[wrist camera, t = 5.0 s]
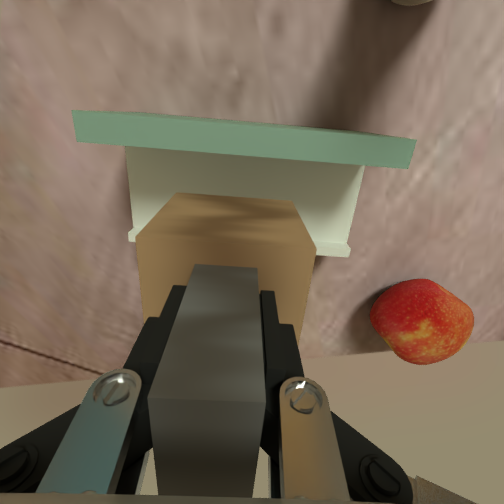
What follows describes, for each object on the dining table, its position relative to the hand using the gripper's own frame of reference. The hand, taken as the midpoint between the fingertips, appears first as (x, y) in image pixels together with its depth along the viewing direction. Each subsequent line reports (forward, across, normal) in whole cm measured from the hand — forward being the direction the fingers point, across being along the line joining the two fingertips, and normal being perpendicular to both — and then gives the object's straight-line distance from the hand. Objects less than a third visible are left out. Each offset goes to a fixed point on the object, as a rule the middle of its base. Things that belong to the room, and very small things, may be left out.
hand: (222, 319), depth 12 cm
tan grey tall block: (+8, 0, 0) cm, 8 cm away
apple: (+18, -19, +10) cm, 28 cm away
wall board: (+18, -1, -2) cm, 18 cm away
